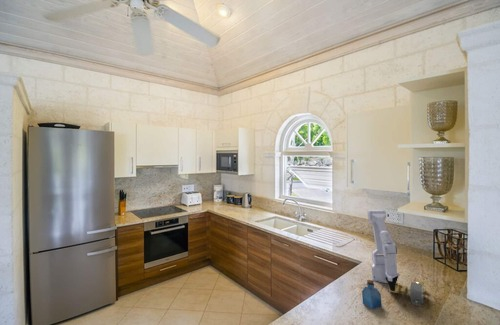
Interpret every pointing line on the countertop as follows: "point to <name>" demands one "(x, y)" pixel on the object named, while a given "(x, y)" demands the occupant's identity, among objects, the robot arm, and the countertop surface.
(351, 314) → the countertop surface
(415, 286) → the pillow block
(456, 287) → the countertop surface
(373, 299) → the perfume bottle
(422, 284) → the cover
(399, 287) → the end cover
